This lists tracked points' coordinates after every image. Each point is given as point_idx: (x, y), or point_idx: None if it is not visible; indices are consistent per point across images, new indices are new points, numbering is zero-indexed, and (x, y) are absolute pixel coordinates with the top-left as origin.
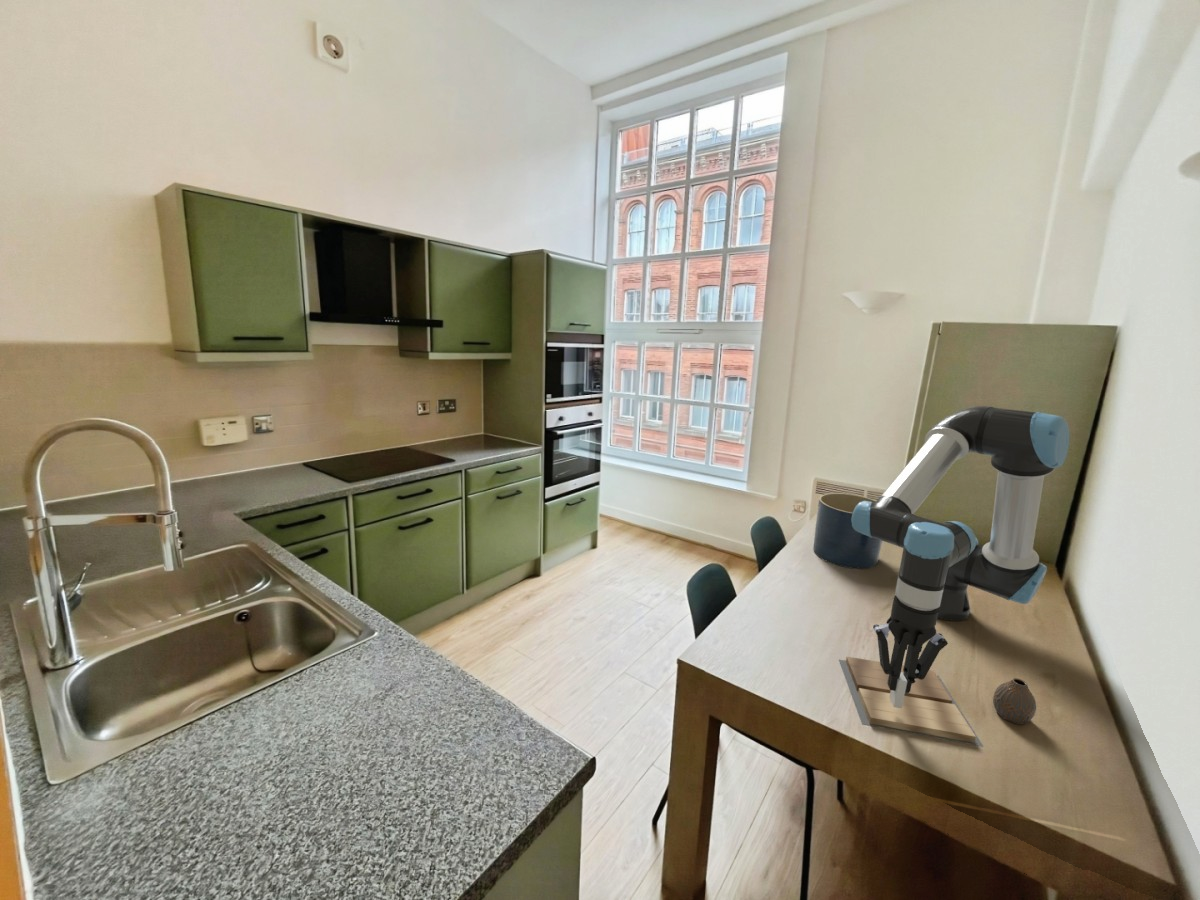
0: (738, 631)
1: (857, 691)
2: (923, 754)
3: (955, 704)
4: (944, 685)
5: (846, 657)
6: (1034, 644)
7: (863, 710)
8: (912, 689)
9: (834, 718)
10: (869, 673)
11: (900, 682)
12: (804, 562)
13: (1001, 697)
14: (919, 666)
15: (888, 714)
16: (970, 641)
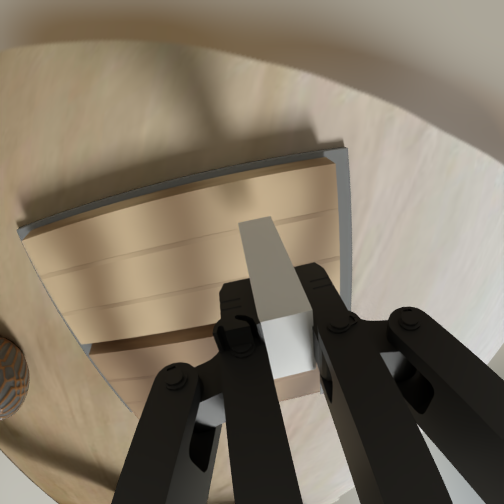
0: (493, 336)
1: None
2: (162, 99)
3: (86, 350)
4: (116, 393)
5: None
6: (46, 466)
7: None
8: (182, 356)
9: (412, 149)
10: None
11: (295, 301)
12: (326, 494)
13: (3, 382)
14: (192, 447)
15: (269, 209)
16: (104, 468)
